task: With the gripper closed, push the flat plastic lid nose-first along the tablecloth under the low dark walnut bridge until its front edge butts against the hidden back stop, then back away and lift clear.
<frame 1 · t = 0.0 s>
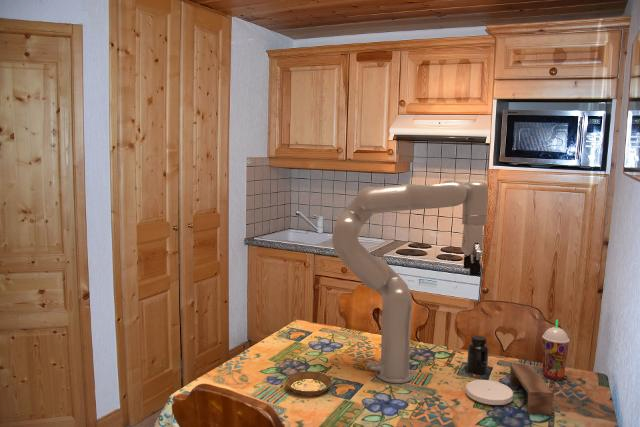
hand: (471, 271, 171), 37 cm above the table, tool pointing down, fingers open, 9 cm apart
supplement bottle: (477, 371, 182), on the table
smoothie: (552, 377, 179), on the table
plant saucer: (308, 389, 168), on the table
plastic lid: (488, 397, 164), on the table
walnut bridge: (526, 397, 163), on the table
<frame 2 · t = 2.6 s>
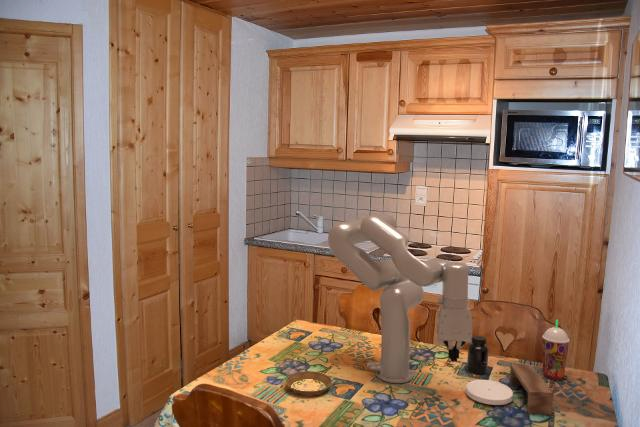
hand: (453, 360, 163), 11 cm above the table, tool pointing down, fingers closed
nothing on the table moved.
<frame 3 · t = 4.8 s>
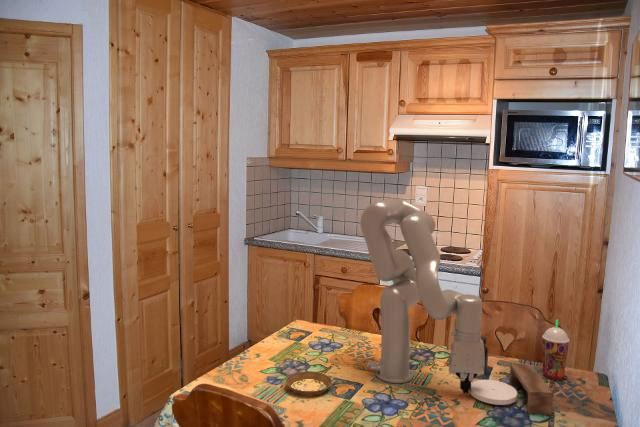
hand: (465, 391, 164), 1 cm above the table, tool pointing down, fingers closed
plastic lid: (492, 397, 164), on the table, touching gripper
everything else where it was.
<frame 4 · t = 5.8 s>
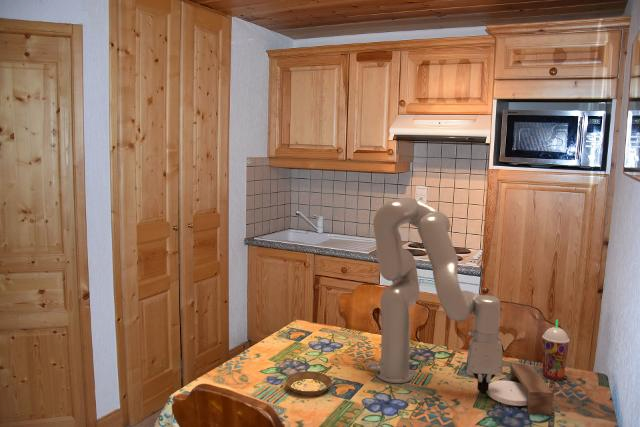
hand: (482, 392, 164), 1 cm above the table, tool pointing down, fingers closed
plastic lid: (510, 398, 163), on the table, touching gripper
everything else where it was.
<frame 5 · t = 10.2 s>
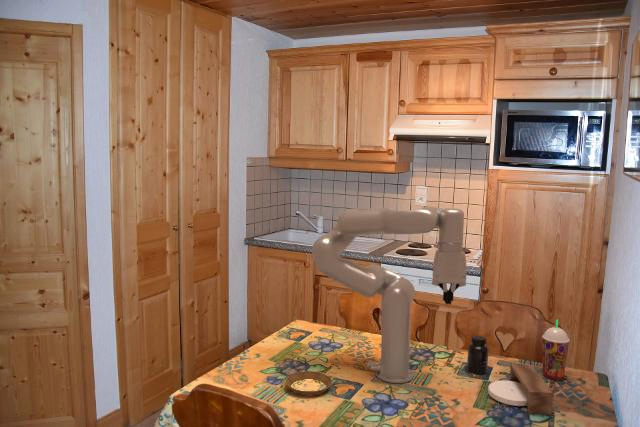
hand: (447, 303, 169), 27 cm above the table, tool pointing down, fingers closed
plastic lid: (511, 398, 163), on the table
everything else where it was.
at the end: plastic lid 0.4 cm from the target spot on the walnut bridge, point -0.6 cm above the walnut bridge's base; plastic lid tilted 0° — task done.
